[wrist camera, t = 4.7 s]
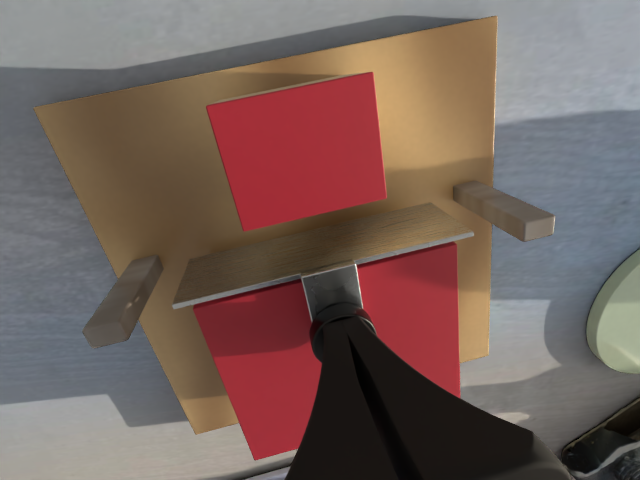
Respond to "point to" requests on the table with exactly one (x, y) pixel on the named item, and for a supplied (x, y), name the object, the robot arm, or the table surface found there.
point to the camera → (608, 449)
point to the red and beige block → (295, 347)
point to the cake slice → (301, 149)
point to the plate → (618, 319)
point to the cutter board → (226, 231)
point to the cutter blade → (319, 263)
